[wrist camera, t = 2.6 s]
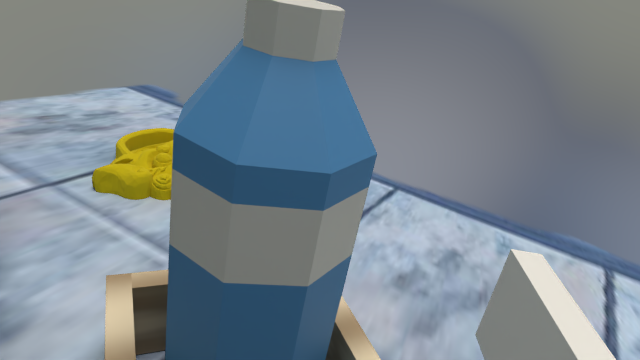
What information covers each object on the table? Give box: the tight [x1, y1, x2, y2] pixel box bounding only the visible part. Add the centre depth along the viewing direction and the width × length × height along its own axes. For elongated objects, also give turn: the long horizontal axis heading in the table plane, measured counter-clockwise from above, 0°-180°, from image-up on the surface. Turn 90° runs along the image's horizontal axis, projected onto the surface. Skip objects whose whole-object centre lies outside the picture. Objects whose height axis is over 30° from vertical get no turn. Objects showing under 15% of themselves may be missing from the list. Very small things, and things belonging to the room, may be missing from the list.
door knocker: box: [92, 128, 174, 200], centre depth 56 cm, size 17×16×4 cm
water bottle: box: [165, 0, 377, 360], centre depth 24 cm, size 9×9×25 cm
